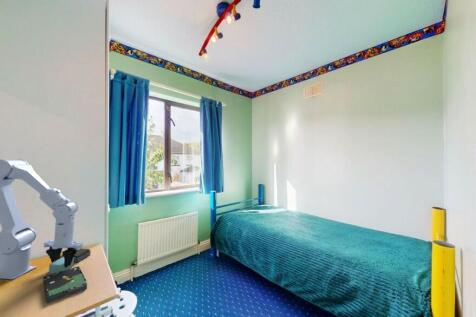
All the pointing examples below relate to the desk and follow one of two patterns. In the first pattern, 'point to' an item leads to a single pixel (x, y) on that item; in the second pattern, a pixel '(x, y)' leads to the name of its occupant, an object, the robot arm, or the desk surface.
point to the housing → (59, 266)
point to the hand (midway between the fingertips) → (61, 265)
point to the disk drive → (64, 284)
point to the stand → (80, 255)
